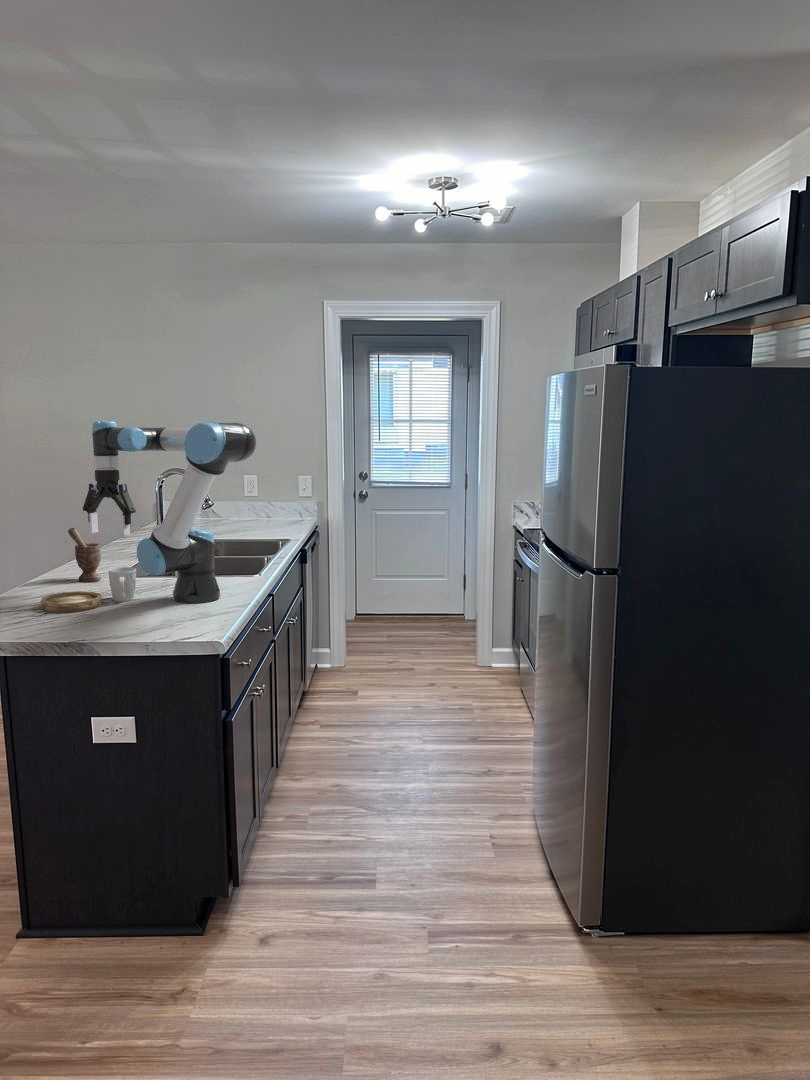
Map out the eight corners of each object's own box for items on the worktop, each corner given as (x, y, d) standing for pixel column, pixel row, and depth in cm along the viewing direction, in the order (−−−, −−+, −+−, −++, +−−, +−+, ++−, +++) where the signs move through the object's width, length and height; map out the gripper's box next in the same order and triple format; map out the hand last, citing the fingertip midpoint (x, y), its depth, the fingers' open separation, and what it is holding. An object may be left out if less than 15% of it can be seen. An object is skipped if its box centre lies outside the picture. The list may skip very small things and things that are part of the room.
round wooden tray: (111, 606, 239) (111, 597, 239) (57, 615, 226) (57, 606, 226) (84, 597, 250) (84, 588, 250) (32, 605, 237) (31, 597, 237)
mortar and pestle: (89, 585, 268) (87, 529, 265) (66, 584, 269) (64, 528, 266) (106, 578, 279) (104, 524, 276) (84, 577, 280) (82, 523, 277)
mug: (136, 604, 243) (135, 573, 241) (107, 605, 240) (106, 574, 239) (137, 596, 254) (136, 566, 252) (110, 597, 251) (109, 567, 250)
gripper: (145, 469, 247) (148, 534, 250) (86, 467, 257) (89, 530, 260) (128, 470, 240) (131, 537, 243) (68, 468, 250) (72, 532, 253)
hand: (110, 533), depth 252 cm, fingers open, 13 cm apart
